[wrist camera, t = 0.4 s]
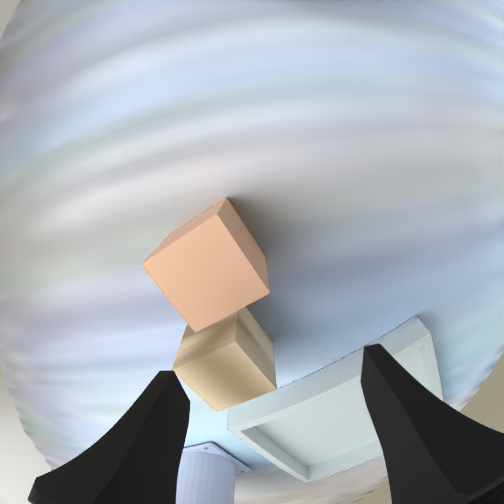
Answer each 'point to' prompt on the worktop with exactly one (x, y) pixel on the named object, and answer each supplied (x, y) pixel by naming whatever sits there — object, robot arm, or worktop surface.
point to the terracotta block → (210, 267)
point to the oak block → (227, 361)
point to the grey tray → (329, 410)
